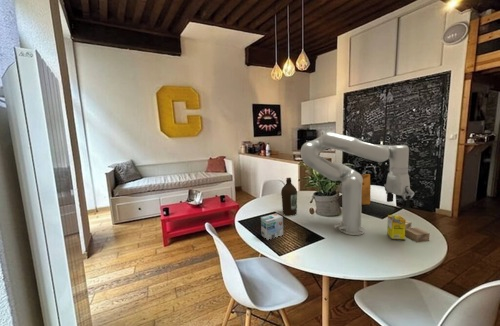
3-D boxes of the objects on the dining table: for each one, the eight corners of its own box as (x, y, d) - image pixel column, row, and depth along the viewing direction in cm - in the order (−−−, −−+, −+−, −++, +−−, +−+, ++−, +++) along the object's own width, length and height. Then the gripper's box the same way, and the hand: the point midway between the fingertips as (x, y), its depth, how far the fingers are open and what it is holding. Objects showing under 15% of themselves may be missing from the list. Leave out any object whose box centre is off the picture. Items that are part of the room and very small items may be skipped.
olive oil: (278, 213, 154) (277, 178, 150) (288, 209, 161) (287, 175, 157) (291, 217, 146) (290, 180, 143) (300, 212, 153) (299, 177, 150)
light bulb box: (267, 240, 118) (266, 221, 116) (261, 235, 124) (260, 217, 122) (284, 235, 123) (283, 216, 121) (277, 230, 128) (276, 212, 127)
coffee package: (350, 200, 173) (351, 172, 170) (368, 201, 169) (369, 172, 166) (352, 204, 164) (352, 175, 161) (371, 205, 160) (372, 175, 157)
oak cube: (405, 233, 117) (405, 224, 117) (395, 229, 122) (396, 221, 121) (411, 231, 119) (411, 222, 119) (401, 227, 124) (402, 219, 123)
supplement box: (405, 240, 110) (406, 219, 108) (391, 240, 111) (392, 219, 109) (399, 235, 116) (400, 215, 114) (386, 234, 117) (387, 214, 115)
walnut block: (416, 242, 108) (416, 235, 107) (404, 236, 115) (404, 228, 114) (429, 241, 109) (429, 233, 108) (416, 234, 116) (416, 227, 115)
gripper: (378, 168, 116) (378, 200, 119) (406, 174, 99) (405, 211, 102) (391, 167, 117) (390, 198, 120) (421, 173, 100) (419, 209, 103)
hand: (397, 204), depth 111 cm, fingers open, 9 cm apart
